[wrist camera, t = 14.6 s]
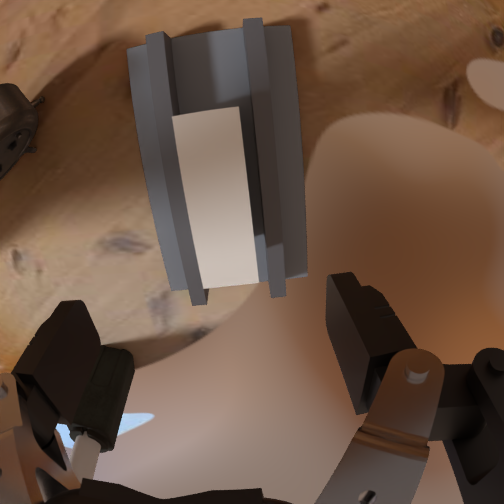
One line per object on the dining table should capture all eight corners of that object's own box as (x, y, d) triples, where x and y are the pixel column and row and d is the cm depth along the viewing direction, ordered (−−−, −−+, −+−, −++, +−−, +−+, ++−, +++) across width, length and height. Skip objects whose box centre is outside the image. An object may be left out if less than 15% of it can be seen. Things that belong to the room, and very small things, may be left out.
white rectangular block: (211, 242, 30) (203, 288, 22) (190, 113, 24) (171, 116, 17) (253, 237, 30) (259, 282, 22) (238, 106, 24) (238, 106, 17)
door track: (172, 285, 33) (166, 307, 29) (130, 50, 22) (114, 43, 18) (305, 271, 33) (313, 292, 29) (288, 28, 22) (296, 16, 18)
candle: (132, 350, 37) (82, 534, 15) (135, 376, 39) (97, 543, 17) (96, 343, 36) (32, 515, 14) (101, 369, 39) (52, 527, 16)
